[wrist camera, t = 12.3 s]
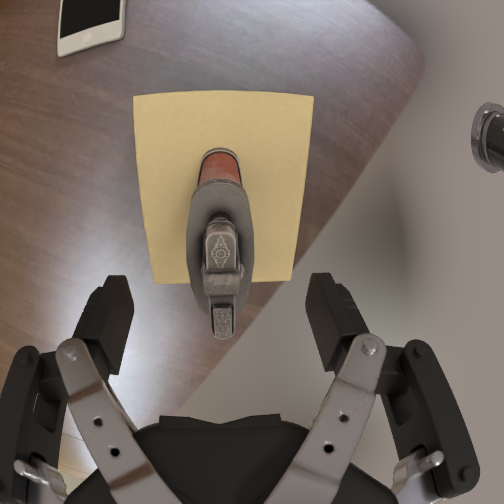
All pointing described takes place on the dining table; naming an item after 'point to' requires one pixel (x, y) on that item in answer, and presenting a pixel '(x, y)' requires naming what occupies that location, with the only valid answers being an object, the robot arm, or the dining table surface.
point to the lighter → (220, 241)
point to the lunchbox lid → (251, 164)
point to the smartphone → (89, 24)
